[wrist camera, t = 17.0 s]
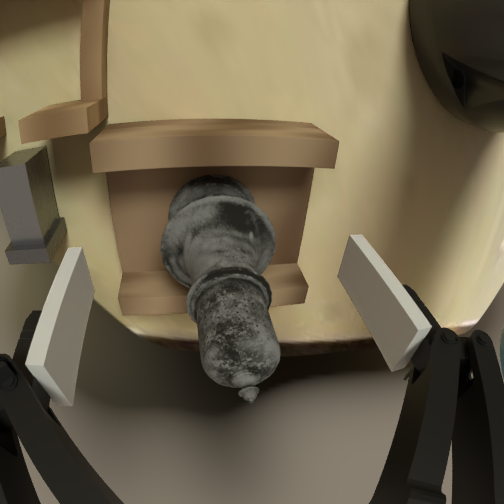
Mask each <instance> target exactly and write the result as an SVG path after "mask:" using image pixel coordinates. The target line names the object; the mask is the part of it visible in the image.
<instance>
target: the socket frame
mask: <svg viewBox="0 0 504 504" xmlns="http://www.w3.org/2000/svg"><path fill="white" fill-rule="evenodd" d="M109 4H110V0H83V6H82V20H81V44H80V80H81V100H77V101H71V102H65V103H60V104H55V105H50V106H47V107H45V108H43V109H41V110H39V111H37V112H35V113H33V114H31V115H29V116H27V117H25V118H23V119H21V120H19V130H20V137H21V144H24V143H29V142H35V141H40V140H46V139H51V138H57V137H64V136H70V135H77V134H85V133H89V132H90V131H91V130H92V129H94V128H95V127H96V126H97V125H98V124H99V123H101V122H102V121H103V120H104V119H105V118H107V117H108V104H107V37H108V17H109ZM4 135H6V129H5V121H4V116H3V117H0V138H1V137H2V136H4Z"/></svg>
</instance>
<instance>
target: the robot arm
mask: <svg viewBox="0 0 504 504" xmlns="http://www.w3.org/2000/svg"><path fill="white" fill-rule="evenodd" d="M410 25H411V32H412V38H413V43H414V47H415V51H416V55H417V58H418V61H419V64H420V66H421V69H422V71H423V74H424V76H425V78H426V80H427V82H428V84H429V86H430V88H431V89H432V91H433V93H434V94H435V96H436V97H437V99H438V100H439V101H440V102H441V104H442V105H443V106H444V107H445V108H446V109H447V110H448V111H449V112H450V113H452V114H453V115H454V116H456V117H457V118H459V119H461V120H463V121H465V122H467V123H469V124H472V125H474V126H476V127H478V128H480V129H483V130H487V131H491V132H503V133H504V0H410ZM337 277H338V278H339V280H340V282H341V283H342V285H343V287H344V288H345V290H346V292H347V293H348V295H349V297H350V298H351V300H352V302H353V304H354V305H355V307H356V309H357V310H358V312H359V314H360V316H361V317H362V319H363V321H364V323H365V324H366V326H367V328H368V330H369V332H370V333H371V335H372V337H373V339H374V341H375V342H376V344H377V346H378V348H379V350H380V351H381V353H382V355H383V357H384V359H385V361H386V362H387V364H388V366H389V368H390V370H391V371H396V370H399V369H403V368H405V367H406V365H407V364H408V362H409V361H410V360H411V361H412V363H413V364H414V365H413V366H412V368H411V369H410V371H409V372H408V373H407V375H406V376H405V378H404V380H406V379H407V378H408V377H409V380H408V385H407V389H406V394H405V398H404V402H403V406H402V410H401V414H400V418H399V421H398V425H397V428H396V431H395V435H394V438H393V441H392V445H391V448H390V451H389V454H388V457H387V460H386V463H385V466H384V469H383V471H382V474H381V477H380V480H379V482H378V485H377V487H376V490H375V493H374V495H373V497H372V499H371V501H370V503H369V504H446V495H444V494H443V493H442V492H441V486H442V483H443V479H444V475H445V470H446V465H447V461H448V456H449V451H450V446H451V440H452V464H453V465H452V467H453V469H452V472H453V473H452V475H453V476H452V504H504V383H503V379H502V375H501V371H500V367H499V363H498V360H497V356H496V352H495V349H494V346H493V342H492V340H491V338H490V337H489V336H488V334H486V333H485V332H483V331H481V330H475V331H474V332H473V333H472V334H471V335H470V337H469V338H468V337H458V336H457V334H456V333H455V332H454V331H452V330H450V329H448V328H441V327H440V325H439V324H438V322H437V321H436V320H435V318H434V317H433V315H432V314H431V313H430V311H429V310H428V309H427V307H426V306H425V305H424V303H423V302H422V301H421V300H420V298H419V297H418V295H417V294H416V293H415V291H414V290H412V289H411V288H410V287H408V286H407V285H401V283H400V282H399V281H398V279H397V278H396V277H395V275H394V274H393V273H392V271H391V270H390V269H389V268H388V266H387V265H386V264H385V262H384V261H383V260H382V259H381V257H380V256H379V255H378V254H377V252H376V251H375V250H374V249H373V247H372V246H371V245H370V244H369V242H368V241H367V240H366V239H365V238H364V236H363V235H362V234H359V235H349V238H348V242H347V245H346V249H345V252H344V256H343V259H342V263H341V266H340V270H339V273H338V276H337ZM94 293H95V290H94V287H93V284H92V280H91V277H90V273H89V270H88V266H87V263H86V259H85V255H84V251H83V248H82V247H72V248H68V249H67V251H66V254H65V256H64V258H63V260H62V263H61V265H60V267H59V269H58V272H57V274H56V277H55V279H54V281H53V284H52V287H51V289H50V292H49V294H48V297H47V299H46V302H45V305H44V307H43V310H42V311H32V313H31V314H30V315H29V316H28V318H27V319H26V321H25V324H24V326H23V331H22V332H21V335H20V339H19V340H18V344H17V346H16V349H15V353H14V356H13V359H11V357H10V356H9V355H7V354H0V504H41V503H40V501H39V499H38V496H37V493H36V491H35V488H34V486H33V483H32V481H31V478H30V475H29V472H28V469H27V466H26V463H25V460H24V457H23V453H22V450H21V447H20V444H19V439H20V440H21V442H22V444H23V446H24V448H25V449H26V451H27V453H28V455H29V457H30V458H31V460H32V462H33V464H34V465H35V467H36V469H37V470H38V472H39V473H40V475H41V477H42V478H43V480H44V481H45V483H46V484H47V486H48V487H49V488H50V490H51V492H52V493H53V494H54V496H55V497H56V499H57V500H58V501H59V503H60V504H124V503H123V502H122V501H121V500H120V499H119V498H118V497H117V496H116V494H115V493H114V492H113V491H112V490H111V489H110V488H109V487H108V485H107V484H106V483H105V482H104V481H103V480H102V478H101V477H100V476H99V475H98V474H97V472H96V471H95V470H94V469H93V467H92V466H91V465H90V464H89V463H88V461H87V460H86V458H85V457H84V456H83V455H82V453H81V452H80V451H79V449H78V448H77V446H76V445H75V444H74V442H73V441H72V440H71V438H70V437H69V435H68V434H67V432H66V431H65V429H64V428H63V426H62V425H61V423H60V422H59V420H58V419H57V417H56V416H55V414H54V413H53V411H52V409H51V408H50V407H49V402H50V398H51V399H52V400H53V402H54V403H55V404H56V405H65V406H73V400H74V393H75V386H76V379H77V373H78V367H79V361H80V356H81V351H82V345H83V340H84V336H85V331H86V326H87V322H88V317H89V313H90V309H91V305H92V300H93V297H94ZM500 361H501V368H502V374H503V377H504V325H503V328H502V333H501V338H500ZM472 372H473V377H474V378H473V379H472V378H471V373H472ZM17 435H18V436H17ZM18 437H19V439H18Z"/></svg>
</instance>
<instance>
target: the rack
mask: <svg viewBox="0 0 504 504" xmlns="http://www.w3.org/2000/svg"><path fill="white" fill-rule="evenodd" d="M89 145H90V154H91V163H92V171H93V173H100V172H106V176H107V184H108V191H109V199H110V205H111V212H112V218H113V224H114V230H115V236H116V241H117V247H118V252H119V257H120V262H121V267H122V271H123V274H122V279H121V285H120V290H119V296H118V301H119V304H120V308H121V311H122V315H123V316H126V315H153V314H174V313H188V312H187V307H186V298H187V293H188V292H189V290H190V288H188V287H186V286H184V285H182V284H181V283H179V282H178V281H177V280H175V279H174V278H173V277H172V276H171V275H170V274H169V272H168V270H167V269H166V267H165V265H164V263H163V260H162V255H161V250H160V248H161V240H162V235H163V232H164V230H165V228H166V226H167V224H168V222H169V218H168V215H169V208H170V204H171V202H172V200H173V197H174V195H175V194H176V193H177V192H178V191H179V189H180V188H181V187H182V186H183V185H185V184H186V183H188V182H189V181H191V180H192V179H195V178H198V177H201V176H204V175H214V174H218V175H224V176H229V177H231V178H233V179H236V180H238V181H240V182H241V183H242V184H243V185H244V186H246V187H247V188H248V190H249V191H250V193H251V194H252V196H253V197H254V201H255V204H256V206H257V207H259V208H260V209H261V210H262V211H264V212H265V214H266V215H267V217H268V218H269V220H270V221H271V223H272V224H273V228H274V231H275V235H276V246H275V252H274V255H273V257H272V260H271V262H270V263H269V265H268V266H267V268H266V269H265V271H264V272H263V273H262V274H261V275H262V276H263V277H264V278H265V279H266V281H267V282H268V283H269V285H270V288H271V291H272V302H271V305H270V307H271V306H282V305H292V304H301V303H305V299H306V295H307V291H308V287H309V286H308V284H307V282H306V280H305V278H304V276H303V274H302V272H301V270H300V268H299V266H298V264H297V261H298V256H299V251H300V246H301V241H302V236H303V230H304V225H305V219H306V214H307V208H308V203H309V197H310V191H311V186H312V180H313V174H314V168H332V169H334V168H335V163H336V157H337V152H338V146H339V141H338V140H336V139H335V138H333V137H332V136H330V135H329V134H327V133H326V132H324V131H323V130H321V129H319V128H318V127H316V126H315V125H313V124H311V123H302V122H289V121H273V120H251V119H179V120H157V121H142V122H129V123H118V124H109V125H107V126H106V127H105V128H104V129H103V130H102V131H101V132H100V133H99V134H98V135H97V136H96V137H95V138H94V139H93V140H92V141H91V142H90V143H89Z"/></svg>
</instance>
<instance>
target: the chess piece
mask: <svg viewBox="0 0 504 504" xmlns="http://www.w3.org/2000/svg"><path fill="white" fill-rule="evenodd" d="M168 218H169V222H168V224H167V226H166V228H165V230H164V232H163V235H162V240H161V248H160V250H161V255H162V260H163V263H164V265H165V267H166V269H167V270H168V272H169V274H170V275H171V276H172V277H173V278H174V279H175V280H177V281H178V282H179V283H181V284H182V285H184V286H186V287H188V288H190V290H189V292H188V293H187V298H186V307H187V312H188V314H189V316H190V317H191V319H192V320H193V321H194V322H195V323H197V327H198V336H199V346H200V355H201V361H202V365H203V368H204V370H205V372H206V374H207V375H208V376H209V377H210V378H212V379H213V380H214V381H215V382H217V383H218V384H221V385H224V386H227V387H233V388H241V390H240V391H239V393H238V394H239V396H241V397H243V398H244V399H245V400H246V401H248V402H249V403H253V402H254V399H255V398H256V396H257V394H258V393H259V389H258V388H257V387H254V385H256V384H258V383H260V382H262V381H263V380H265V379H266V378H268V377H269V376H270V375H271V374H272V373H273V372H274V371H275V368H276V366H277V365H278V363H279V360H280V346H279V343H278V340H277V337H276V334H275V331H274V328H273V325H272V322H271V318H270V315H269V312H268V310H269V307H270V305H271V302H272V291H271V288H270V285H269V283H268V282H267V281H266V279H265V278H264V277H263V276H262V275H261V274H262V273H263V272H264V271H265V269H266V268H267V266H268V265H269V263H270V262H271V260H272V257H273V255H274V252H275V246H276V235H275V231H274V228H273V224H272V223H271V221H270V220H269V218H268V217H267V215H266V214H265V212H264V211H262V210H261V209H260V208H259V207H257V206H256V204H255V201H254V197H253V196H252V194H251V193H250V191H249V190H248V188H247V187H246V186H244V185H243V184H242V183H241V182H240V181H238V180H236V179H233V178H231V177H229V176H224V175H218V174H214V175H204V176H201V177H198V178H195V179H192V180H191V181H189V182H188V183H186V184H185V185H183V186H182V187H181V188H180V189H179V191H178V192H177V193H176V194H175V195H174V197H173V200H172V202H171V204H170V208H169V215H168Z"/></svg>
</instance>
